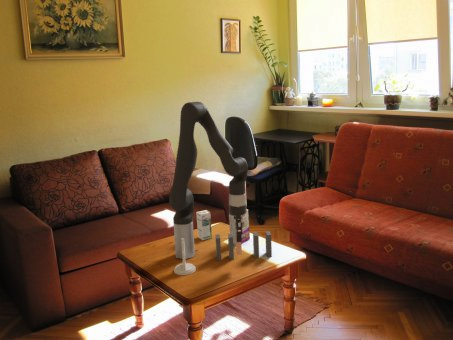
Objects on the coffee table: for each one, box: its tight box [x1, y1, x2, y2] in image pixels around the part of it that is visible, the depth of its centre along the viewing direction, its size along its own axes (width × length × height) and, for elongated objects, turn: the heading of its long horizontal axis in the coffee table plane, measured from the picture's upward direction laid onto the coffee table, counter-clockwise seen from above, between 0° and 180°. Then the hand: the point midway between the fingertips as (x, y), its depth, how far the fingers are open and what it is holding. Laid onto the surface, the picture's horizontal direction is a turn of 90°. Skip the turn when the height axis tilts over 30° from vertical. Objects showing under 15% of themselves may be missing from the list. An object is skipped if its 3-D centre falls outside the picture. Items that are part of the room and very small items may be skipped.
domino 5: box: [264, 230, 273, 258], centre depth 226 cm, size 2×5×11 cm, turn 4°
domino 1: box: [214, 234, 222, 261], centre depth 225 cm, size 2×5×11 cm, turn 4°
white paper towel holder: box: [173, 238, 197, 276], centre depth 213 cm, size 10×10×15 cm
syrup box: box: [195, 209, 213, 241], centre depth 251 cm, size 6×6×14 cm
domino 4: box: [252, 231, 260, 259], centre depth 226 cm, size 2×5×11 cm, turn 4°
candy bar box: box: [228, 208, 251, 246], centre depth 243 cm, size 11×5×16 cm, turn 143°
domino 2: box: [227, 233, 235, 261], centre depth 225 cm, size 2×5×11 cm, turn 4°
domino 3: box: [235, 230, 243, 256], centre depth 212 cm, size 2×5×11 cm, turn 4°
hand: (238, 239), depth 212 cm, fingers closed on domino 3, 5 cm apart
